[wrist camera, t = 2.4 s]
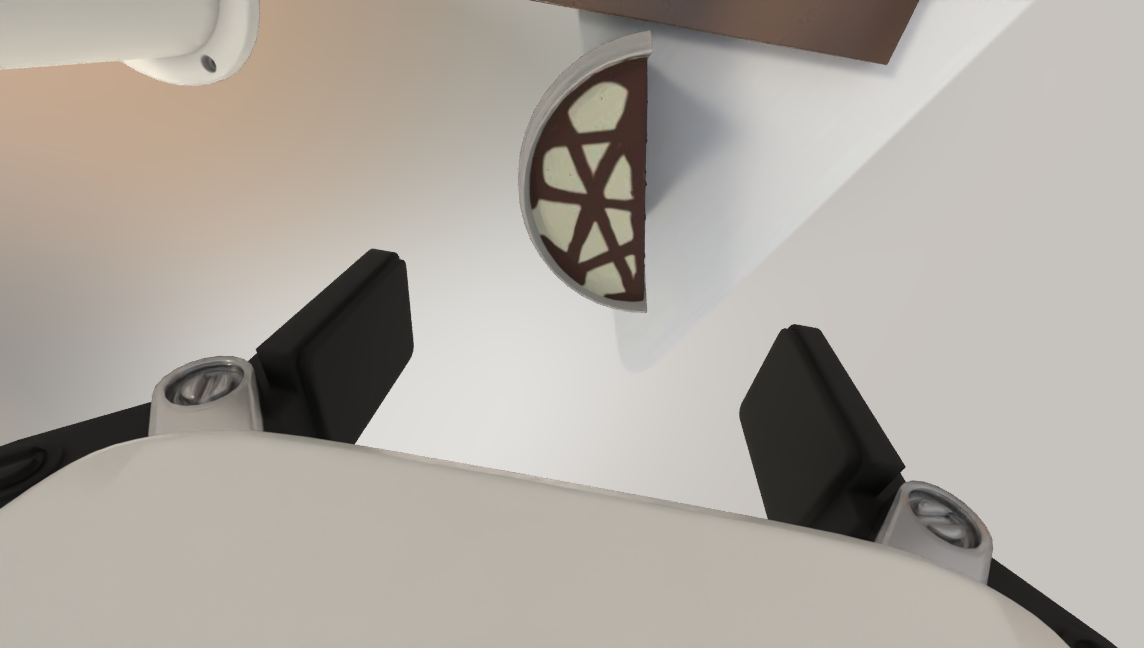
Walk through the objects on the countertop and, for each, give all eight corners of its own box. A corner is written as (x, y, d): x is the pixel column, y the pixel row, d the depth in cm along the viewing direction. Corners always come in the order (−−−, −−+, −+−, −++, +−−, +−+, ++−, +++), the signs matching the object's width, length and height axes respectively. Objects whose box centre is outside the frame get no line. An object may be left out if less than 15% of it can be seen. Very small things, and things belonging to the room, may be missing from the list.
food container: (532, 38, 24) (483, 47, 16) (644, 27, 23) (653, 30, 15) (555, 243, 31) (529, 322, 23) (641, 240, 30) (646, 321, 22)
